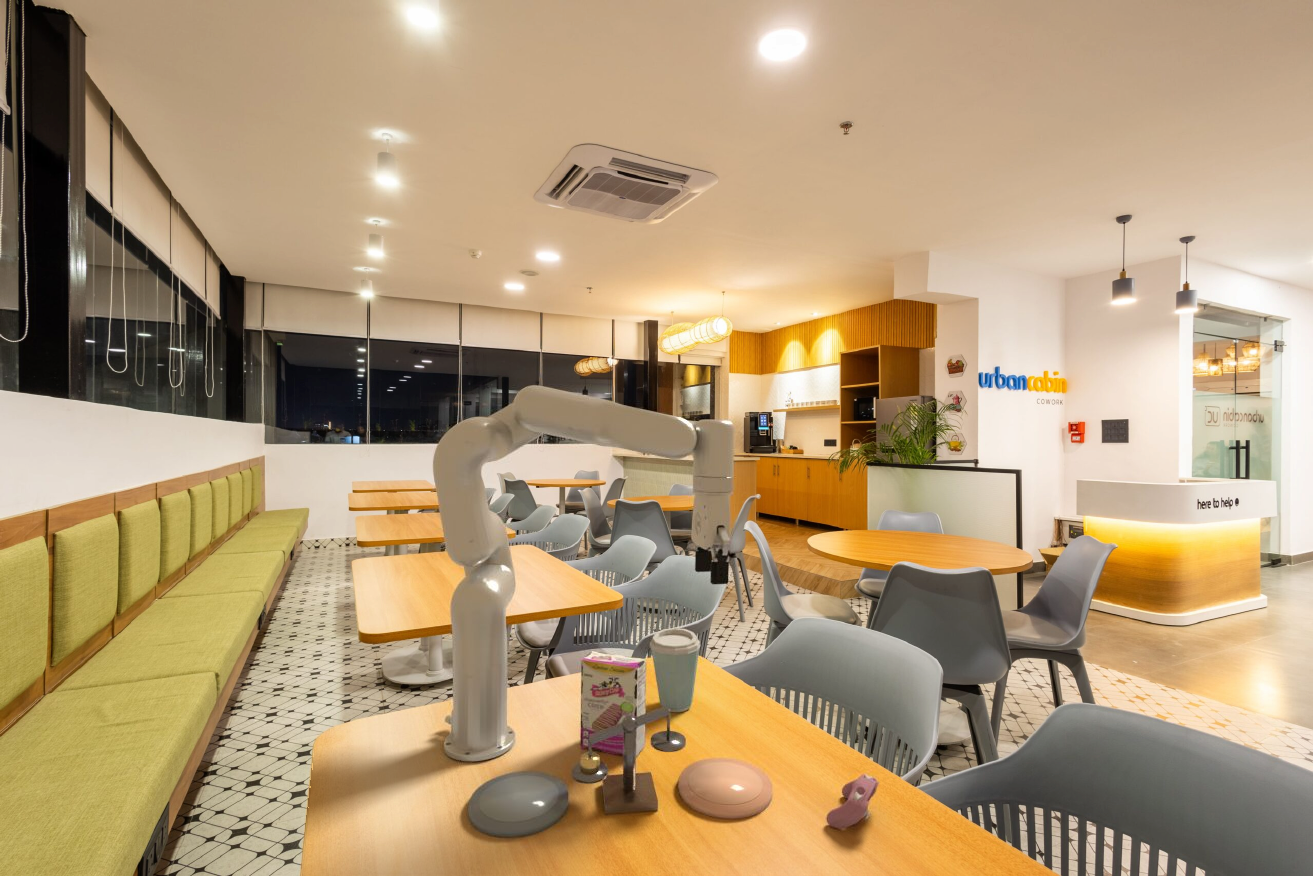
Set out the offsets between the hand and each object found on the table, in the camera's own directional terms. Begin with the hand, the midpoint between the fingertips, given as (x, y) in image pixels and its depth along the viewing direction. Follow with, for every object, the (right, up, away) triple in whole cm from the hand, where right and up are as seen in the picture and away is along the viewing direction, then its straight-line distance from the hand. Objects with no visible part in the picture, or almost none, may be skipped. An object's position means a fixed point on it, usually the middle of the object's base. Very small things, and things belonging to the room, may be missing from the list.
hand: (711, 577), depth 115 cm
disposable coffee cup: (-6, -31, +15) cm, 35 cm away
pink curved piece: (+20, -31, -22) cm, 43 cm away
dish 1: (-31, -31, -20) cm, 48 cm away
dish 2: (+1, -31, -16) cm, 34 cm away
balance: (-14, -31, -18) cm, 38 cm away
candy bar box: (-18, -31, -3) cm, 36 cm away
